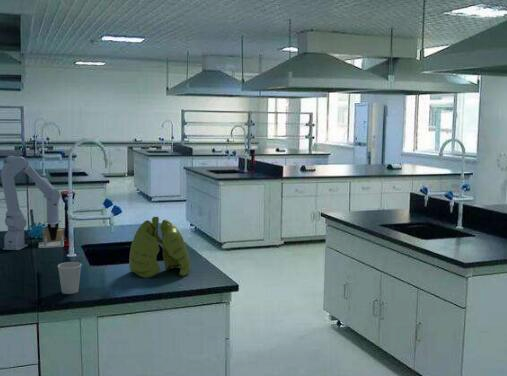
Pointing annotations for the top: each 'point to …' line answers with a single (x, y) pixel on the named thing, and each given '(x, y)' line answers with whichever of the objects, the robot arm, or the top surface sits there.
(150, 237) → the lungs
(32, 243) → the top surface
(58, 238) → the tan rectangular block
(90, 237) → the top surface
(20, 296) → the top surface
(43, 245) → the tray
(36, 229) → the blue spiky piece
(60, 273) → the dixie cup
